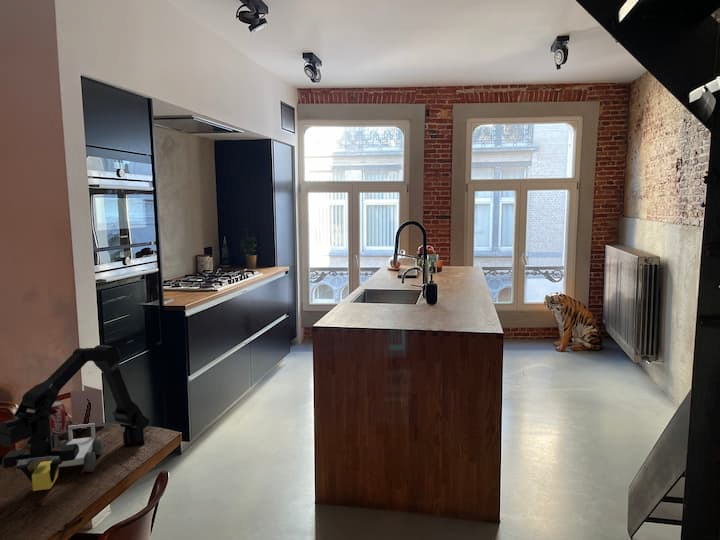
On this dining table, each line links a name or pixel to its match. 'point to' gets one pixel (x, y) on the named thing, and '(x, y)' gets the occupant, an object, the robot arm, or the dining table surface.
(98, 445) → the trolley
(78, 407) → the greeting card
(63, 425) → the soda can
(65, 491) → the dining table surface
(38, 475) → the block
